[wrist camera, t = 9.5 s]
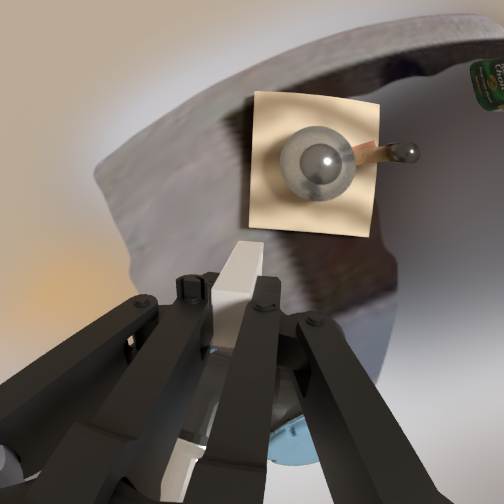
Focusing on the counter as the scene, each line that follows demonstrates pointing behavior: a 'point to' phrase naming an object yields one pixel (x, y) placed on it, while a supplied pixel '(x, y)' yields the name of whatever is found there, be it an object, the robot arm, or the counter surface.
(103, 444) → the robot arm
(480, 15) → the counter surface
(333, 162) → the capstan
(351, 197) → the stand
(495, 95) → the coffee jar
